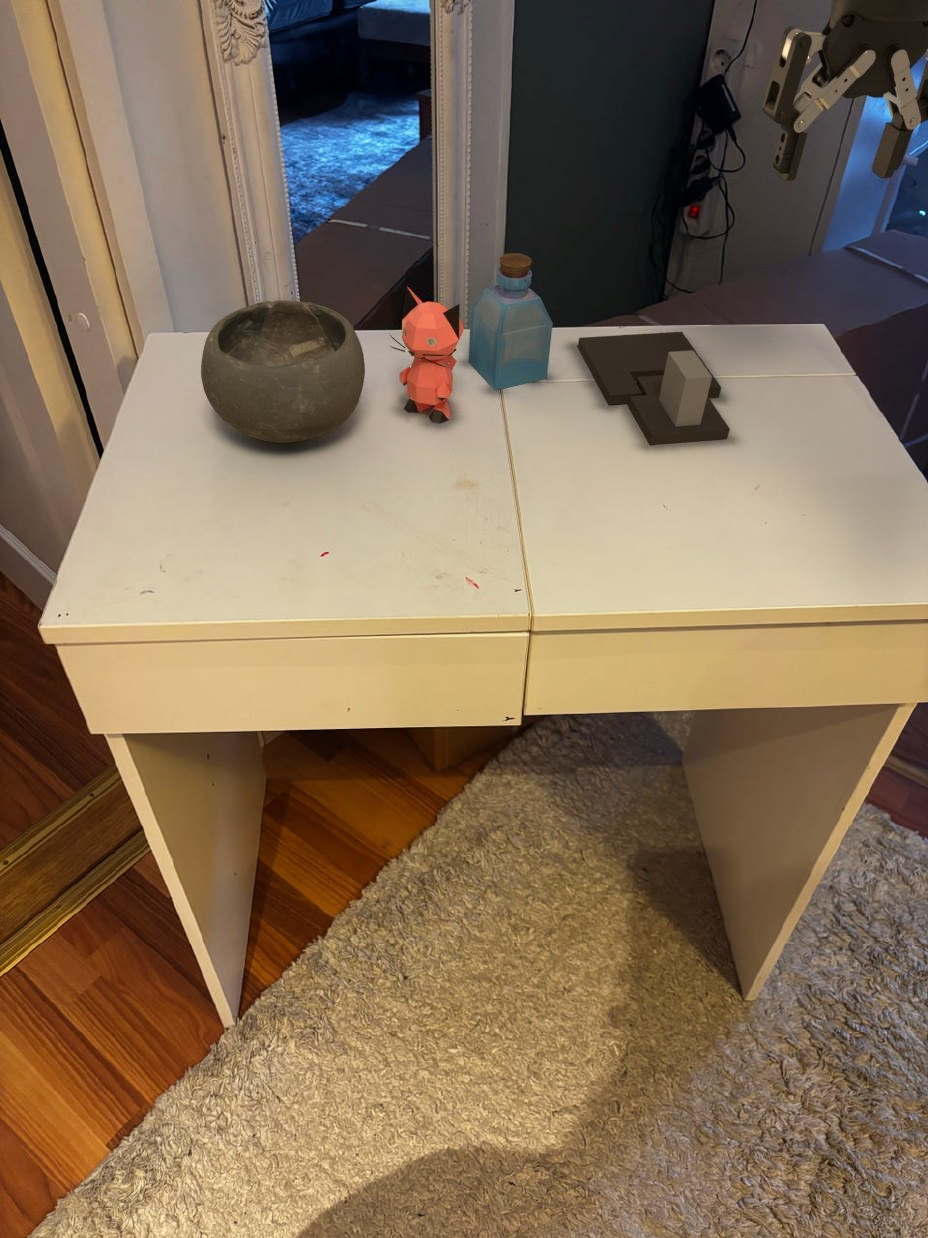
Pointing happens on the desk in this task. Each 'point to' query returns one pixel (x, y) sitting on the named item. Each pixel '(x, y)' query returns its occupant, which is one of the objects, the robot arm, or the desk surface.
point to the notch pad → (632, 361)
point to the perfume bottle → (510, 328)
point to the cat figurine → (429, 354)
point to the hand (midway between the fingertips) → (833, 176)
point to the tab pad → (663, 424)
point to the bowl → (283, 370)
